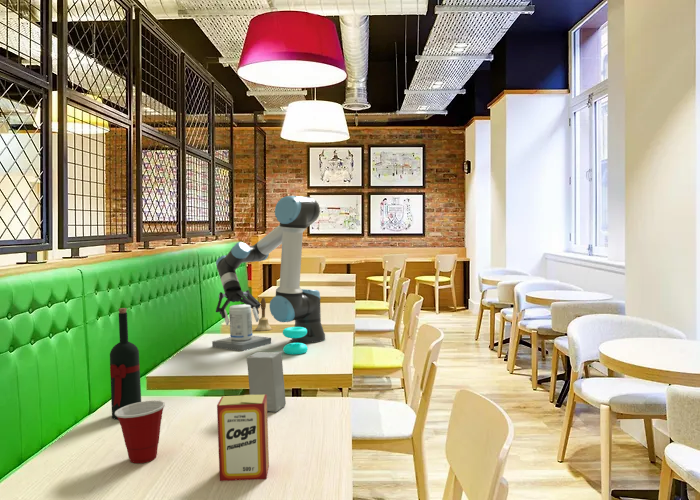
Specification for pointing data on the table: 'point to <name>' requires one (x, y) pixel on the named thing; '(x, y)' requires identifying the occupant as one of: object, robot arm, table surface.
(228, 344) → the slate board
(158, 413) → the plastic cup
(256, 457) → the baking soda box
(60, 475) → the table surface
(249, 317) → the supplement tub
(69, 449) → the table surface
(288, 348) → the donuts
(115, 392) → the wine bottle
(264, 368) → the skincare box
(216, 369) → the table surface
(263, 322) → the hand bell
